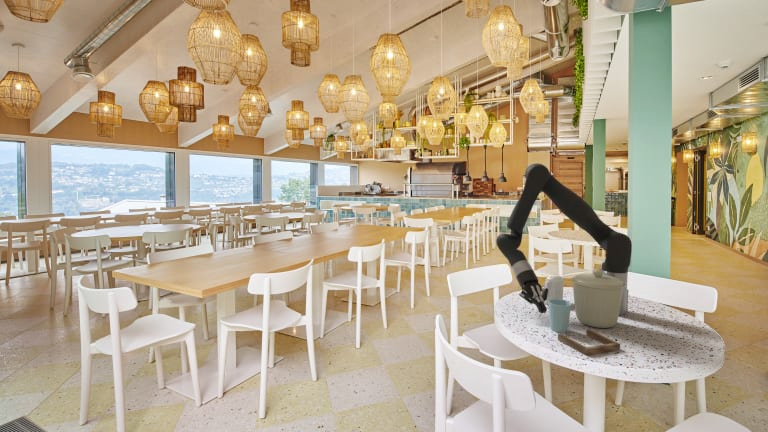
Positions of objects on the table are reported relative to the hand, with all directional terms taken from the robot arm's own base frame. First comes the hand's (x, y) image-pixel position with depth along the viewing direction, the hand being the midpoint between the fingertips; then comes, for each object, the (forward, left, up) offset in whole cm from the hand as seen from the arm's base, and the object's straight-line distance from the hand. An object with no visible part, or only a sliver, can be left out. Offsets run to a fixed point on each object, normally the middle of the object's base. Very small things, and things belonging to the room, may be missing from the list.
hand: (544, 312), depth 142 cm
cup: (0, +8, -4) cm, 9 cm away
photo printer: (-20, -18, -4) cm, 27 cm away
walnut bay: (0, +20, -4) cm, 21 cm away
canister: (-18, +7, -4) cm, 20 cm away
